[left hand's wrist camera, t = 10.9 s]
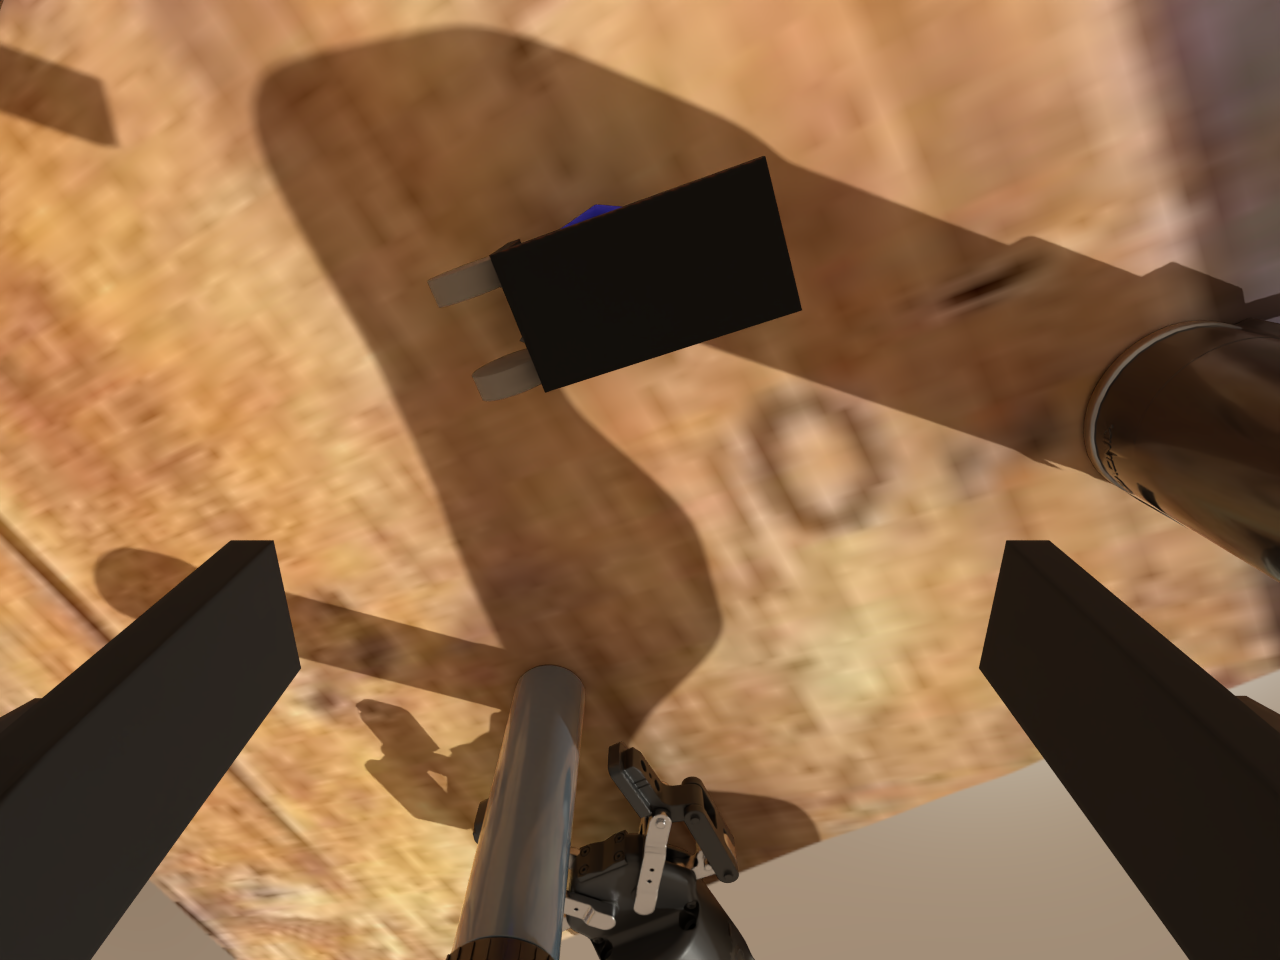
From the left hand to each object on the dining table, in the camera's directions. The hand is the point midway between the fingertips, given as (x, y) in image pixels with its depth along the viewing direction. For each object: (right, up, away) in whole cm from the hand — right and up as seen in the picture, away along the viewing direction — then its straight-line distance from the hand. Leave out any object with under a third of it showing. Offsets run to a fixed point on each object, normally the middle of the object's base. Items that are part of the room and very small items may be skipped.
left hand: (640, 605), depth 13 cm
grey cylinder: (-6, -11, +31) cm, 33 cm away
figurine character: (-1, +12, +22) cm, 25 cm away
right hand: (-5, -14, +26) cm, 30 cm away
